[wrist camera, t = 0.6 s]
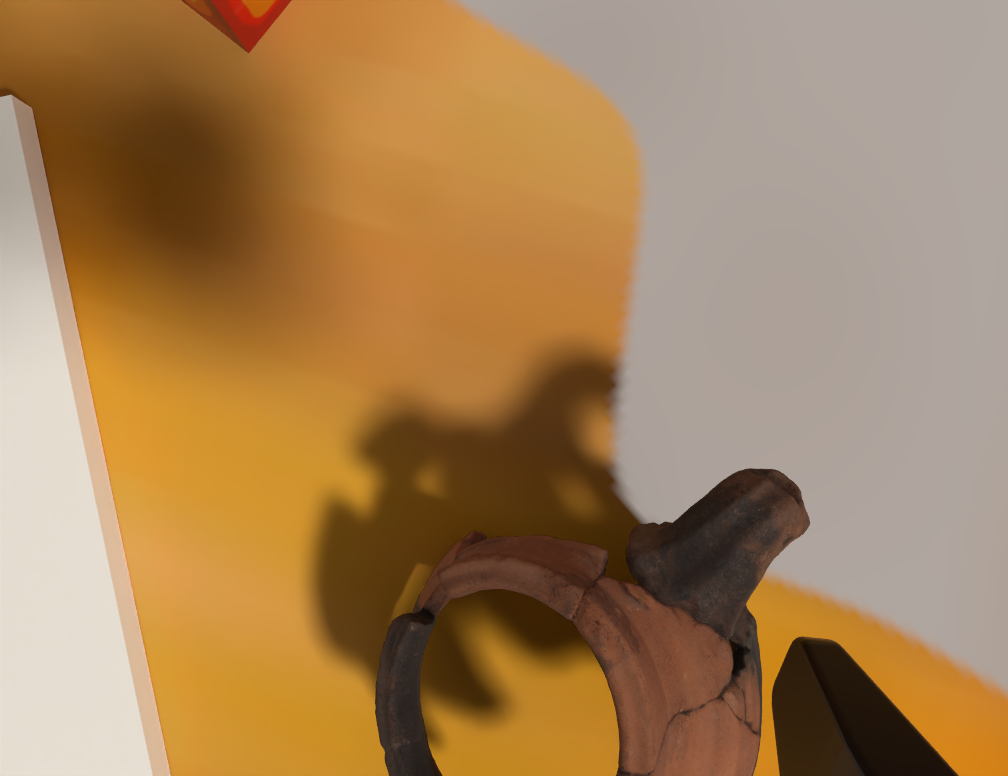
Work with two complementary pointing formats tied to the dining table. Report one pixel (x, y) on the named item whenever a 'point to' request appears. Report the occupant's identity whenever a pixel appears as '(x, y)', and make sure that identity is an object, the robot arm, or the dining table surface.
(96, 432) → the square socket base
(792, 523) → the pottery mug
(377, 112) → the dining table surface
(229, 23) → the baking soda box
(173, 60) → the dining table surface
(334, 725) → the dining table surface
